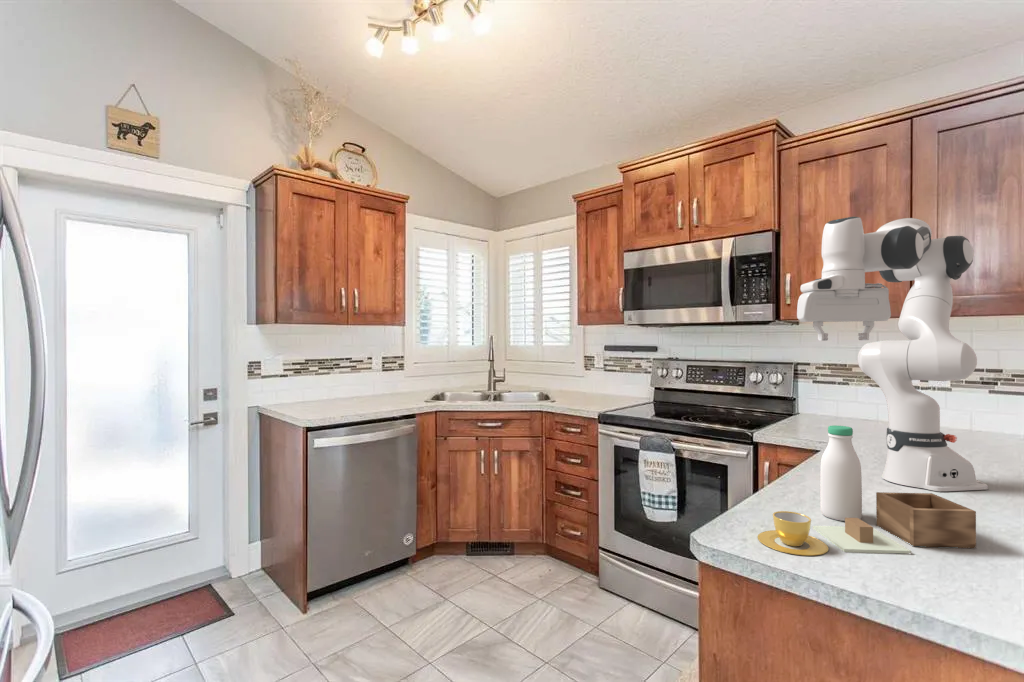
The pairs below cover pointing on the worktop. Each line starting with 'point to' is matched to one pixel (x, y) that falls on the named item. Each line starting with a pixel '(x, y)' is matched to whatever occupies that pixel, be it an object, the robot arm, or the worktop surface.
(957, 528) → the box
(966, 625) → the worktop surface
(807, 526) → the cup
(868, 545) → the lid
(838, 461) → the milk bottle
